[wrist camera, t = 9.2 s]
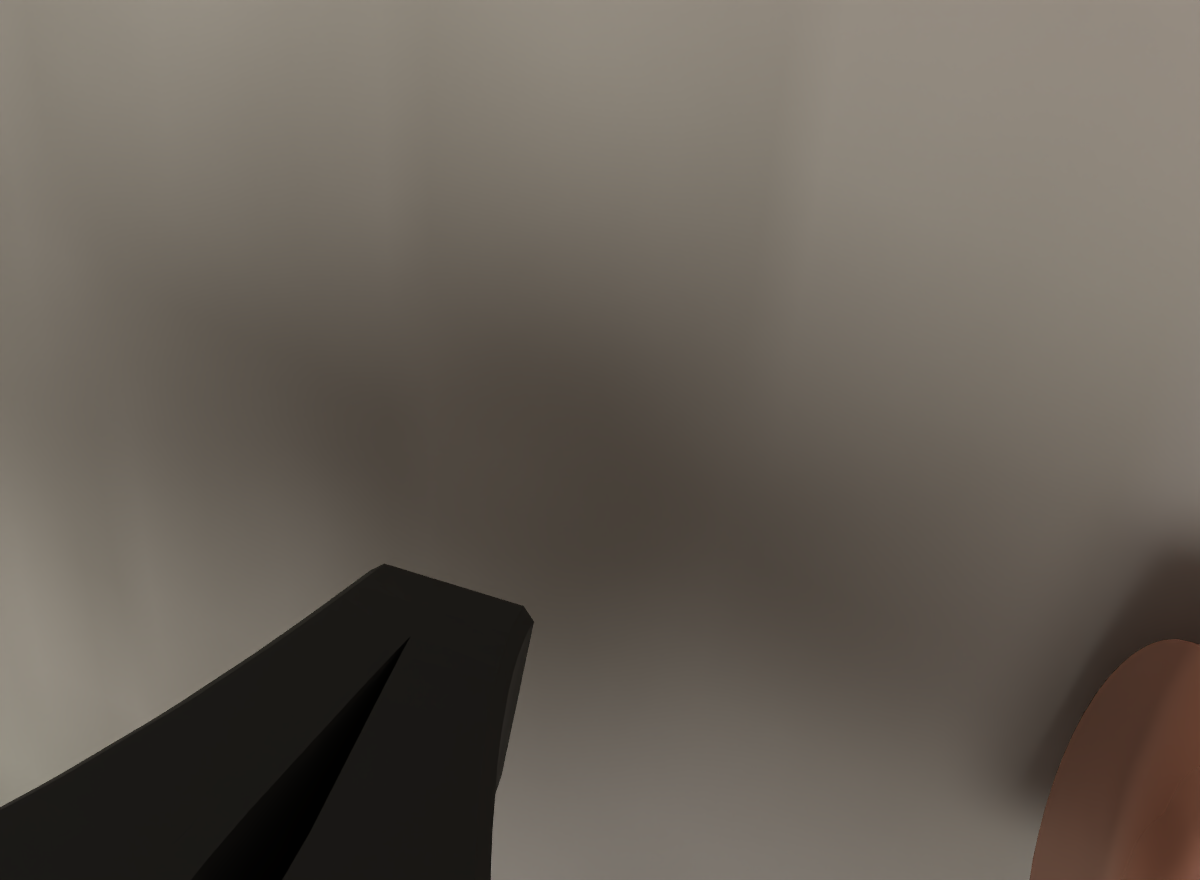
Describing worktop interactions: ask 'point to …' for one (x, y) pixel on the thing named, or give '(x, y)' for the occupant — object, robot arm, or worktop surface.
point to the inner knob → (1130, 777)
